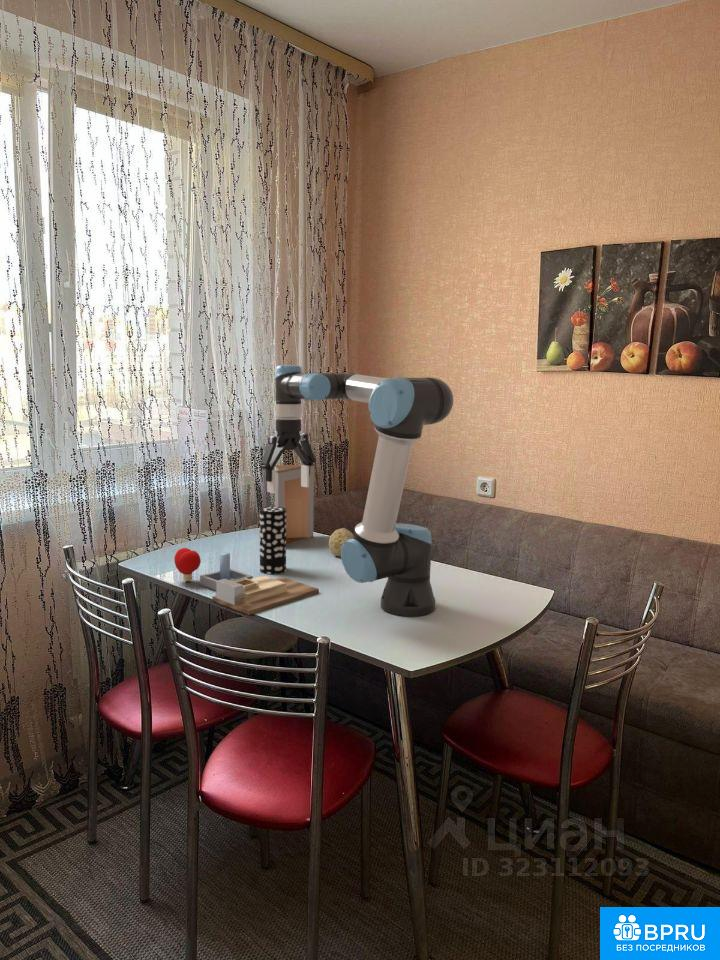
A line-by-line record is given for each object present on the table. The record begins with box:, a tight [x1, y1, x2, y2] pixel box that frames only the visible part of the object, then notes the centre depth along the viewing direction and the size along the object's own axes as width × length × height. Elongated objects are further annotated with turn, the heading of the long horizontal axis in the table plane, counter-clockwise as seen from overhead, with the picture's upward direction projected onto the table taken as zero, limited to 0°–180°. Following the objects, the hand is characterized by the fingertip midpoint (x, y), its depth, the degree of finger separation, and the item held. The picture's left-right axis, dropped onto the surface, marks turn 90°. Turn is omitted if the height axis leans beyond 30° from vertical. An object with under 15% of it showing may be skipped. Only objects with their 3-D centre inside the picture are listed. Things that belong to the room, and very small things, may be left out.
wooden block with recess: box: [234, 575, 286, 603], centre depth 207 cm, size 10×14×4 cm
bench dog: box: [216, 579, 243, 605], centre depth 200 cm, size 8×3×5 cm, turn 48°
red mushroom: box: [174, 547, 201, 583], centre depth 219 cm, size 9×7×10 cm
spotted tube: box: [259, 506, 287, 575], centre depth 231 cm, size 8×8×20 cm
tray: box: [199, 568, 254, 593], centre depth 217 cm, size 11×11×3 cm
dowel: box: [219, 552, 231, 580], centre depth 217 cm, size 3×3×9 cm
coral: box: [328, 527, 354, 558], centre depth 251 cm, size 10×10×10 cm
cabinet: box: [274, 463, 315, 547], centre depth 268 cm, size 21×10×28 cm, turn 147°
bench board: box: [211, 576, 320, 616], centre depth 208 cm, size 16×26×1 cm, turn 138°
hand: (288, 489), depth 217 cm, fingers open, 13 cm apart
